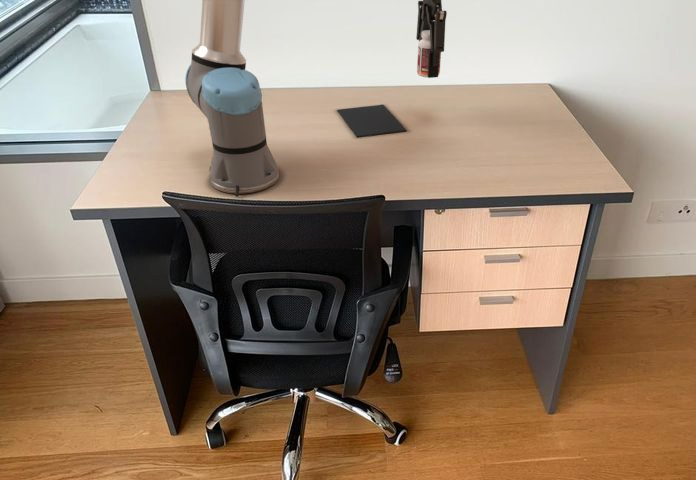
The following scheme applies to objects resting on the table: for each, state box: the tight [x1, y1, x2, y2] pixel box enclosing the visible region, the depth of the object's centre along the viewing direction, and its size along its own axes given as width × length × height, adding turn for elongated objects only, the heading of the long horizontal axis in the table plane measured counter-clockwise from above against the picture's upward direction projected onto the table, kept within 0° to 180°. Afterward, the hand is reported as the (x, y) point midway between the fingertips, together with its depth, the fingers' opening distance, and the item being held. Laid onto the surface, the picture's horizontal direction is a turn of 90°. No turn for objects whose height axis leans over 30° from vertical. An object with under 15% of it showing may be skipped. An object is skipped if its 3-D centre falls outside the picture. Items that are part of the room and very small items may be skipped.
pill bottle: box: [416, 30, 442, 79], centre depth 156 cm, size 6×6×11 cm
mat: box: [337, 104, 408, 138], centre depth 164 cm, size 20×14×1 cm
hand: (428, 73), depth 159 cm, fingers closed on pill bottle, 6 cm apart
